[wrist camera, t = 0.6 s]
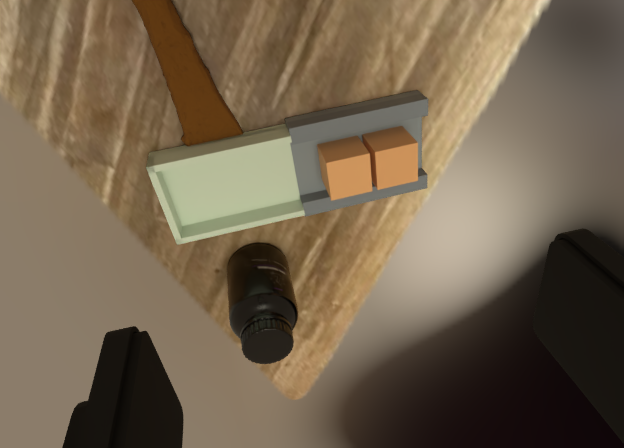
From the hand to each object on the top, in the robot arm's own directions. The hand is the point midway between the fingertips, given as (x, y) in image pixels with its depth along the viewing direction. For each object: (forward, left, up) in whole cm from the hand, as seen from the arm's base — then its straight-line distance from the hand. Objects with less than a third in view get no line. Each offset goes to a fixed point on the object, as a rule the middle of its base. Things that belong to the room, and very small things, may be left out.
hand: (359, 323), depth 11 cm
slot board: (+13, +8, -33) cm, 37 cm away
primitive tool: (+2, -6, -34) cm, 34 cm away
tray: (+13, -5, -33) cm, 36 cm away
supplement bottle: (+25, -4, -34) cm, 42 cm away
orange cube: (+13, +11, -32) cm, 36 cm away
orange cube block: (+13, +6, -32) cm, 35 cm away
